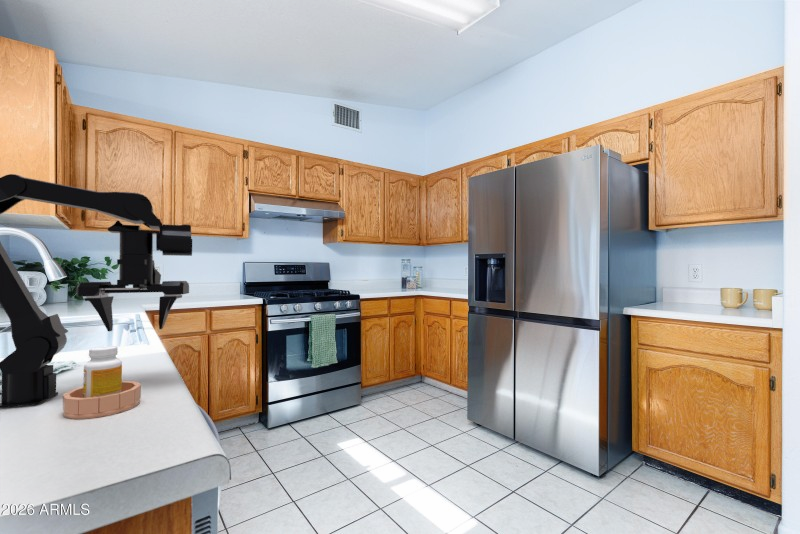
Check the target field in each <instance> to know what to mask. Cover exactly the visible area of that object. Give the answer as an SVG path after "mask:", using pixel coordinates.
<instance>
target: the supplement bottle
mask: <svg viewBox="0 0 800 534" xmlns="http://www.w3.org/2000/svg"><path fill="white" fill-rule="evenodd" d="M88 351H89V352H88V356H89V357H88V358H90V359H89V361H86V362H85V364H84V365H83V386H82V387H83V398H89V397H101V396H106V395H111V394H117V393H120V392H122V381H123V377H122V376H123V361H122V359H120V358H119V357H117V355H118V352H119V351H118V346H116V345H106V346H96V347H92V348H89V350H88Z"/></svg>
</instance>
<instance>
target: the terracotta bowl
mask: <svg viewBox="0 0 800 534" xmlns="http://www.w3.org/2000/svg"><path fill="white" fill-rule="evenodd" d="M141 398H142V384H141V383H139V382H138V381H131V380H129V381H128V380H122V392H120V393H117V394H111V395H106V396H101V397H89V398H83V386H81V387H77V388H74V389H71V390H69V391H67V392H66V393H63V394H62V411H63V417H65V418H66V419H71V420H85V419H86V420H87V419H88V420H89V419H95V418H102V417H103V418H104V417H107V416H112V415H115V414H121V413H123V412H126V411H128V410H132V409H134V408H135V407H137V406H139V404H140V403H141V402H140V401H141V400H140V399H141Z"/></svg>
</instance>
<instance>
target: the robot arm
mask: <svg viewBox="0 0 800 534" xmlns="http://www.w3.org/2000/svg"><path fill="white" fill-rule="evenodd" d="M25 200H29V201H34V202H41V203H46V204H52V205H56V206H57V205H58V206H64V207H69V208H73V209H75V208H76V209H81V210H87V211H93V212H98V213H102V214H104V215H107V216H110V217H113V218H116V219H119V220H116V221H115V223H114V224H112V225H111V226H109V227H108V228H107V231H108V232H109V233H112V234H119V258H118V259H116V261H117V262H116V265H119V269H118V270H119V278H118V279H117V280H116V284H112V283H111V281H83V282H80V283H78V284H77V286H76V288H75V290H76V293H75V295H76V296H75V297H84V299H83V301H84V302H89V303H90V304H91V305H92V307H93V308H94V309H95V310H96V313H98V315H99V318H100V320H101V321H102V323H103V325H104V327H105V328H106V330H107V332H112V331H113V325H114V320H113V307H112V304H113V300H114V296H109V295H110V294H122V293H124V294H128V293H129V294H130V293H133V294H135V293H137V294H138V293H139V294H140V293H163V296H159V305H158V306H159V307H158V328H159V329H158V330H163V329H164V327H165V324H166V321H167V318H168V316H169V313H170V311H171V309H172V307H173V305H174V303H175V302H176V300H177V299H182V298H183V295H187V294H190V285H189V282H188V281H186V280H165V281H164V280H163V281H162V283H161V279H162V274H161V273H160V272H159V270H157V269H156V268H155V260H154V257H153V254H154V253H153V251H154V249H153V248H154V247H153V246H154V241H153V240H154V239H153V238H154V235H156V236H155V237H156V238H155V239H156V241H155V243H156V246H155V247H156V248H155V249H156V251H158V252H159V251H160V252H162V254H161V255H162V256H184V257H185V256H188V257H189V256H191V257H192V256H193V238H192V225H191V224H181V225H179V224H163V222H162V221H161V219H160V218H158V217H157V216H156V215H155V213H154V208H153V205H152V202H151V200H150V199H149V198H148V197H147V196H146V195H144V194H142V193H139V192H127V191H96V190H91V189H85V188H80V187H75V186H71V185H70V186H69V185H65V184H61V183H54V182H50V181H46V180H45V181H44V180H39V179H35V178H29V177H24V176H22V175H18V174H13V173H11V174H5V175H4V176H1V177H0V215H2V214H4V213H5V212H7V211H9V210H10V209H12V208H13V207H15V206H16V205H17V204H18V203H21V202H23V201H25ZM120 220H121V221H125V222H128V223H131V224H123V223H122V222H121V221H120ZM136 224H137V225H136ZM141 225H144V226H146V227H147V228H149V229H150V230H149V229H147V230H146V229H141ZM129 286H132V287H129ZM0 306H1V308H2V309H3V311H4V312H5V313H6V315H7V318H9V322H10V330H11V339H12V341H13V345H14V348H15V350H14V351H13V352H11V353H10V354H8V355H7V356H5V358H3V359H2V360H1V361H0V373H1V402H0V409H3V408H12V407H13V408H16V407H28V406H29V407H30V406H37V405H40V404H43V403H45V402H47V401H48V400H50V399H53V398H54V397H56V396H58V395H59V392H58V391H57V373H56V372H54V364H50V363H51V362H52V360H53V359H54V357H55V355H57V354H59V353H60V352H61V351H62V350H63V349H64V348H65V346H66V344H67V335H66V334H67V333H69V330H68V329H67V328H65V327H64V325H63V324H62V322H61V318H60V316H59V314H58V313H55V314H53V315H49V316H48V314H46V313H45V312H44V311H43V310H41V309H40V307H39V306H38V304H37V302H36V300H35V299H34V297H33V295H32V294H31V292H30V290H29V289H28V286H27V285H26V284H25V282H24V280H23V279H22V276H21V275H20V273H19V272H18V270H17V268H16V266H15V265H14V263H13V261H12V260H11V257H10V256H9V254H8V252H7V251H6V250H5V248H4V246H3V245H2V242H1V241H0Z"/></svg>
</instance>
